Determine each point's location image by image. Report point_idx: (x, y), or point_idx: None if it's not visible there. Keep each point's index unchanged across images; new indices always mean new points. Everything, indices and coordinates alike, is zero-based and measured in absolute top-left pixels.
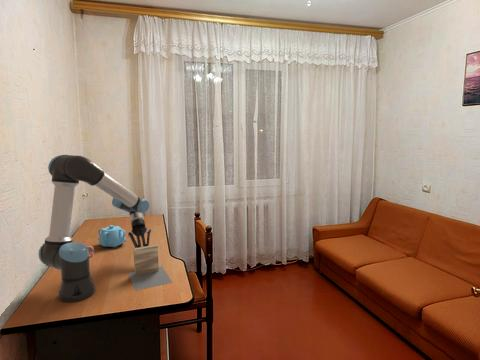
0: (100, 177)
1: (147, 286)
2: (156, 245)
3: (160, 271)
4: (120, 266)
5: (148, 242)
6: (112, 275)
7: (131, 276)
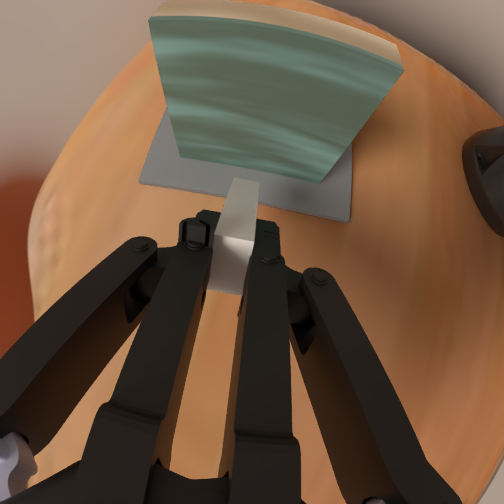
0: None
1: None
2: (167, 7)
3: None
4: None
5: (120, 253)
6: (415, 260)
7: (344, 163)
